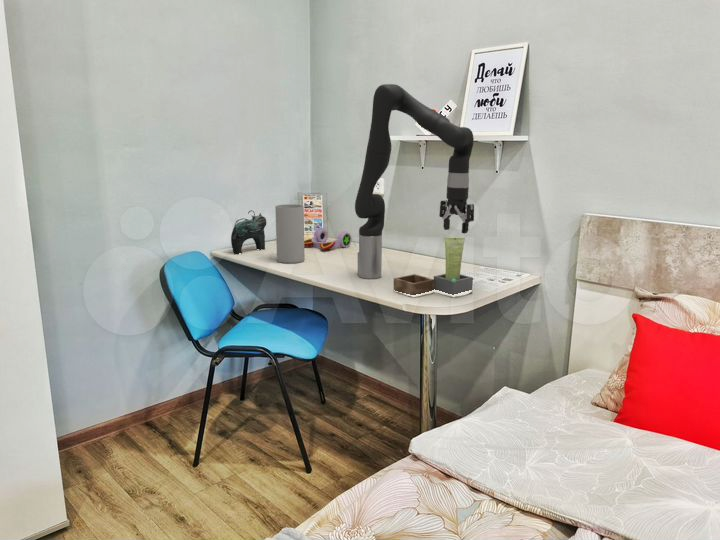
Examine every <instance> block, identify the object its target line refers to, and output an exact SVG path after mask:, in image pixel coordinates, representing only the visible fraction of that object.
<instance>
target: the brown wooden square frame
mask: <svg viewBox="0 0 720 540" xmlns="http://www.w3.org/2000/svg"><path fill="white" fill-rule="evenodd" d="M434 282H435V280H434V278H429V277H426V276H423V275H419V274H416V273H413V274H408V275H403V276H400V277H394V278H393V291H394V290H395V291H398V292H402V293H406V294H410V295H416V294H421V293H425V292H429V291H432V290H434Z"/></svg>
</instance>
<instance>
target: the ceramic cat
mask: <svg viewBox="0 0 720 540" xmlns="http://www.w3.org/2000/svg"><path fill="white" fill-rule="evenodd" d="M251 212H253V213H254V214H253V215H251V217H252V218H251V219H247V218H244V219H243V218H240V219H237V220H236V221H235V223H234V227H233V229H232V230H231V231H232V232H231V235H230V242H231V246H232V253H235V254H234V255H236V254H237V255H240V254H239V253H241V254H243V251H242V250H243V249H242V248H243V244H244V243H245V242H246V241H247V240H250V239H252V241H254V244H255V247H256V250H257V249H260V250H259V251H262V250H261V249H263V250H265V249H266V240H265V239H266V236H265V235H266V234H265V228H266V227H267V226H266V225H267V219H266V217H265V216H263V215H262V212H261V213H259V214H258V215H256V214H255V211H254V210H249V211H248V212H247V214H248V215H249V214H250V213H251Z"/></svg>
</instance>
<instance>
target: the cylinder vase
mask: <svg viewBox="0 0 720 540" xmlns="http://www.w3.org/2000/svg"><path fill="white" fill-rule="evenodd" d="M304 207H305V206H304V205H303V204H290V203H289V204H278V205H275V234H276V235H275V238H276V243H275V244H276V260H277V262H279V263H281V264H289V263H290V264H298V263H303V262H304V261H305V257H306V256H305V246H304V241H305V220H304V219H305V214H304V213H305V211H304V210H305V209H304Z"/></svg>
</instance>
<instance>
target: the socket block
mask: <svg viewBox="0 0 720 540" xmlns="http://www.w3.org/2000/svg"><path fill="white" fill-rule="evenodd" d="M445 277H446V273H442V274H436V275H434V276H433V279H434V280H435V282H434V289H435V290H439V291H442V292H445V293H448V294H452V295H454V294H458V293H461V292H465V291H469V290H472V291H473V284H474V283H473V281H474V277H472V276H468V275H465V274H461V273H460V279H459V280H456V279H454V278H453V279H452V280H449V279H446V278H445Z"/></svg>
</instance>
